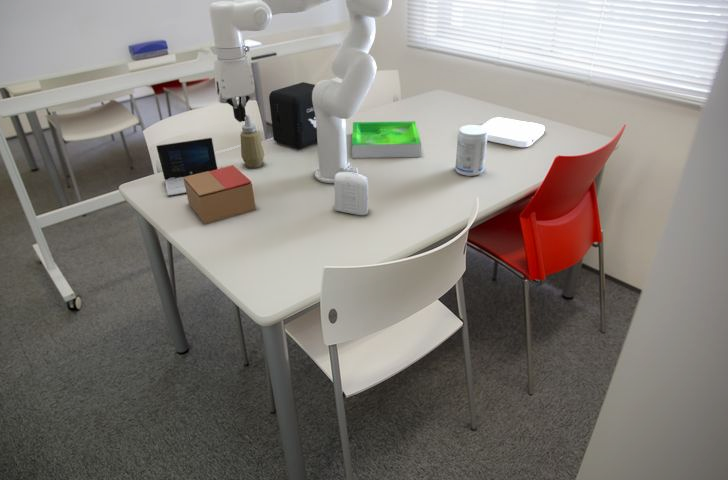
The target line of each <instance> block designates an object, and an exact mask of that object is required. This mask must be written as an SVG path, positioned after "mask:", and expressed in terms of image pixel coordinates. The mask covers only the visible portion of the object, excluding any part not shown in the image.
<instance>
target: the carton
mask: <svg viewBox="0 0 728 480" xmlns="http://www.w3.org/2000/svg"><path fill="white" fill-rule="evenodd" d="M182 178H184V184H185V188H186V193H185V194H186V196H187V201H188V205H189V206H190V207H191V209H192V210H193V211H194V213H195V214H196V215H197V216H198V218H200V220H201V221H202V222H203V224H204V225H207V224H210V223H214V222H217V221H221V220H223V219H227V218H231V217H235V216H238V215H241V214H245V213H248V212H252V211H255V210H257V209H256V201H255V195H254V193H255V192H254V187H253V182H252V183H248V184H245V185H241V186H238V187H236V188H232V189H228V190H225V189H226V188H225V187H224V186H223V185H222V184H221V183H220V182H219V181H218V180H217V179H216V178H215V177H214V176H213V175H212V174H211V173H210V172H209V171H207V172H203V173H198V174H194V175H190V176H186V177H182ZM222 190H225V191H222ZM220 191H221V192H220Z"/></svg>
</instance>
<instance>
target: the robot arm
mask: <svg viewBox="0 0 728 480" xmlns="http://www.w3.org/2000/svg"><path fill="white" fill-rule="evenodd" d="M327 2H330V0H222V1H221V0H220V1H219V0H218V1H215V2H212V3H210V5H209V15H210V22H211V27H212V34H213V40H214V48H215V53H216V58H215V59H214V60H213V61H214V62H213V71H214V72H213V73H214V74H213V75H214V84H215V85H214V86H215V92H216V94H217V95H218V102H219V103H220V104H228V105H229V106H231V107H232V112H233V117H234V119H235V120H236V121H237V122H238V123H242V122H244V123H245V117H246V115H247V113H246V107H247V103H248V102H249V101H250V100H252V99H253V98H255V97H257V95H256V86H255V78H254V75H253V74H254V73H253V70H252V66H251V64H250V60H249V58H248V56H247V53H248V52H250V46H249V45H245V43H244V35H243V32H244V31H245V32H247V31H248V32H249V31H250V32H260V31H264V30H265V29H267V28H268V27H269V26H270V24H272V19H273V16H275V15H279V14H297V13H302V12H306V11H308V10H310V9H313V8H315V7H317V6H320V5H322V4H324V3H327ZM392 3H393V0H345V4H346V8H347V11H348V15H349V25H348V28H347V30H346V33H345V36H344V37H343V40H342V41H341V44H340V46H339V47H338V49H337V51H336V53H335V55H334V57H333V59H332V62H331V71H332V72H333V74H334V76H335V77H336V78H338V79H340V80H341V82H339V81H336V80H333V79H331V78H330V79H328V78H327V79H322V80H320V81H318V82H317V83H316V84H314V85H315V87H314V89H313V92H312V102H313V107H314V111H315V116H316V125H317V142H318V143H317V157H318V169H317V170H315V172H314V178H315V179H316V180H317V181H319V182H321V183H326V184H334V179H335V175H336V174H337V173H339V172H353V173H358V174H359V169H358V167H357V166H351V162H350V161H348V149H347V122H346V120H348V119H350V118H352V117H353V116H355V114H357V112H358V111H359V109H360V107H361V105H362V104H363V102H364V100H365V98H366V96H367V95H368V93H369V91H370V89H371V88H372V85H373V83H374V81H375V79H376V75H377V62H376V60H375V58H374V57H373V56H372V55H371V54H370V50H371V48H372V46H373V44H374V41H375V38H376V32H377V29H376V28H377V27H376V19H381V18H384V17H385V16H386V15H387V14H389V12H390V10H391V9H392ZM237 99H238V100H237Z"/></svg>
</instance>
